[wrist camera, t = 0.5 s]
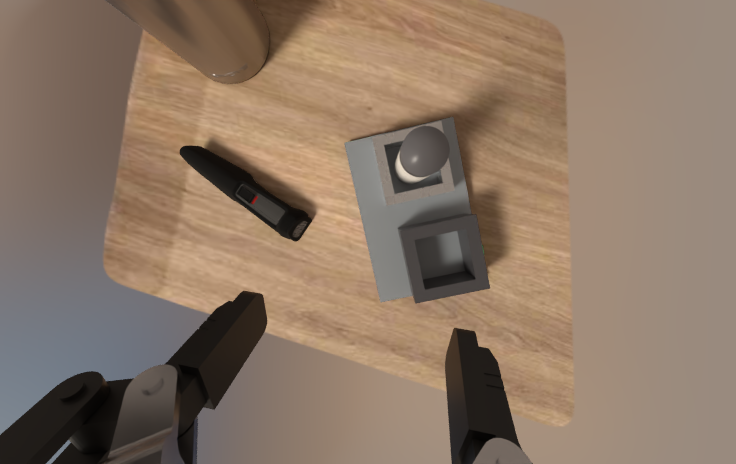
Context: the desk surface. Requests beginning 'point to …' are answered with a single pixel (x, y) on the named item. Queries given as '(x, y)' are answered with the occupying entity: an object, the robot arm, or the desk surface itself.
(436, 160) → the plug
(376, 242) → the panel
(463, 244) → the port
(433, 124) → the square frame
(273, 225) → the electric trimmer
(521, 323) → the desk surface
